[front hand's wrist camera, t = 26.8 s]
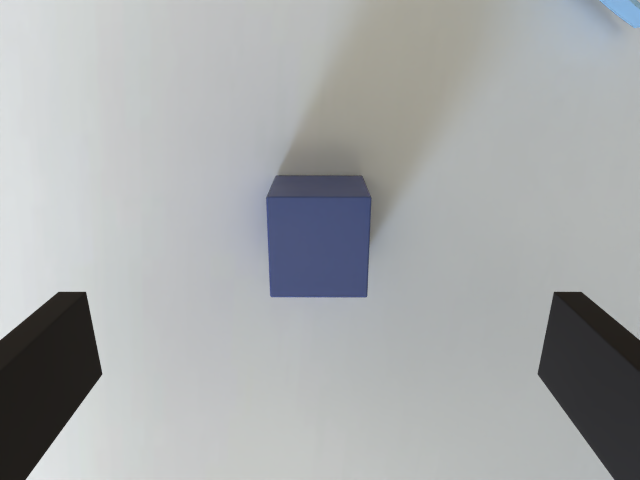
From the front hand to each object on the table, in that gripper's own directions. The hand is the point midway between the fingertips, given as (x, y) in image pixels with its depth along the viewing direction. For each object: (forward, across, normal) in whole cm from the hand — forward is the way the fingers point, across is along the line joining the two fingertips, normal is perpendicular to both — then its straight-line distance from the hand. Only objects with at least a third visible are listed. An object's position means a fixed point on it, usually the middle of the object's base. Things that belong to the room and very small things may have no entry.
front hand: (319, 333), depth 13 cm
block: (+11, 0, 0) cm, 11 cm away
